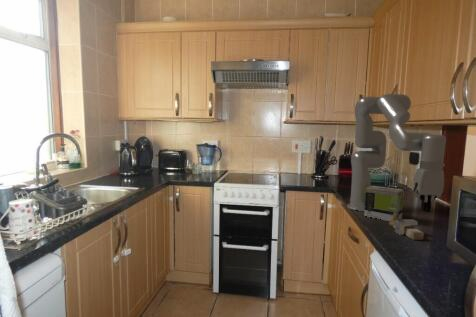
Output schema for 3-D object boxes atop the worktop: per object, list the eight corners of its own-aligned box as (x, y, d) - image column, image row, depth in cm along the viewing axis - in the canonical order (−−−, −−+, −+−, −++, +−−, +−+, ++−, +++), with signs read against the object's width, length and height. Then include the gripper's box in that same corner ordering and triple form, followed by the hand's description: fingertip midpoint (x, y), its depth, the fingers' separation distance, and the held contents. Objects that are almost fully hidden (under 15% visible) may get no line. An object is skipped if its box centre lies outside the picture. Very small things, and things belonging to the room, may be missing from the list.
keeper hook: (394, 232, 123) (395, 219, 122) (411, 232, 123) (413, 219, 123) (399, 235, 120) (400, 221, 119) (416, 234, 121) (417, 221, 120)
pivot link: (386, 223, 133) (387, 211, 132) (397, 223, 133) (398, 211, 133) (412, 239, 115) (413, 225, 114) (424, 239, 115) (425, 225, 114)
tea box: (402, 218, 141) (404, 189, 140) (396, 223, 134) (399, 192, 132) (370, 212, 151) (371, 184, 150) (363, 216, 144) (365, 187, 142)
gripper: (441, 164, 117) (436, 208, 120) (406, 164, 116) (401, 208, 119) (456, 168, 109) (450, 214, 112) (419, 167, 109) (413, 214, 111)
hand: (425, 211), depth 116 cm, fingers closed
